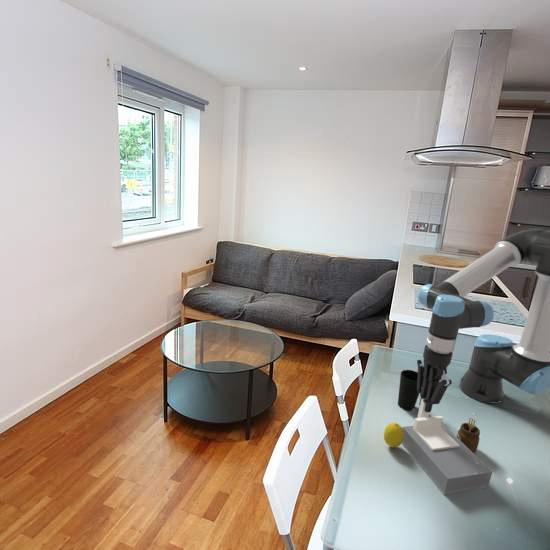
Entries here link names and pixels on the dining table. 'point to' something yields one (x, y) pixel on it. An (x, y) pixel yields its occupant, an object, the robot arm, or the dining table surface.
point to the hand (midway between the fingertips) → (422, 418)
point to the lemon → (393, 435)
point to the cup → (408, 390)
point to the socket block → (448, 464)
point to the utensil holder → (469, 435)
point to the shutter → (434, 433)
